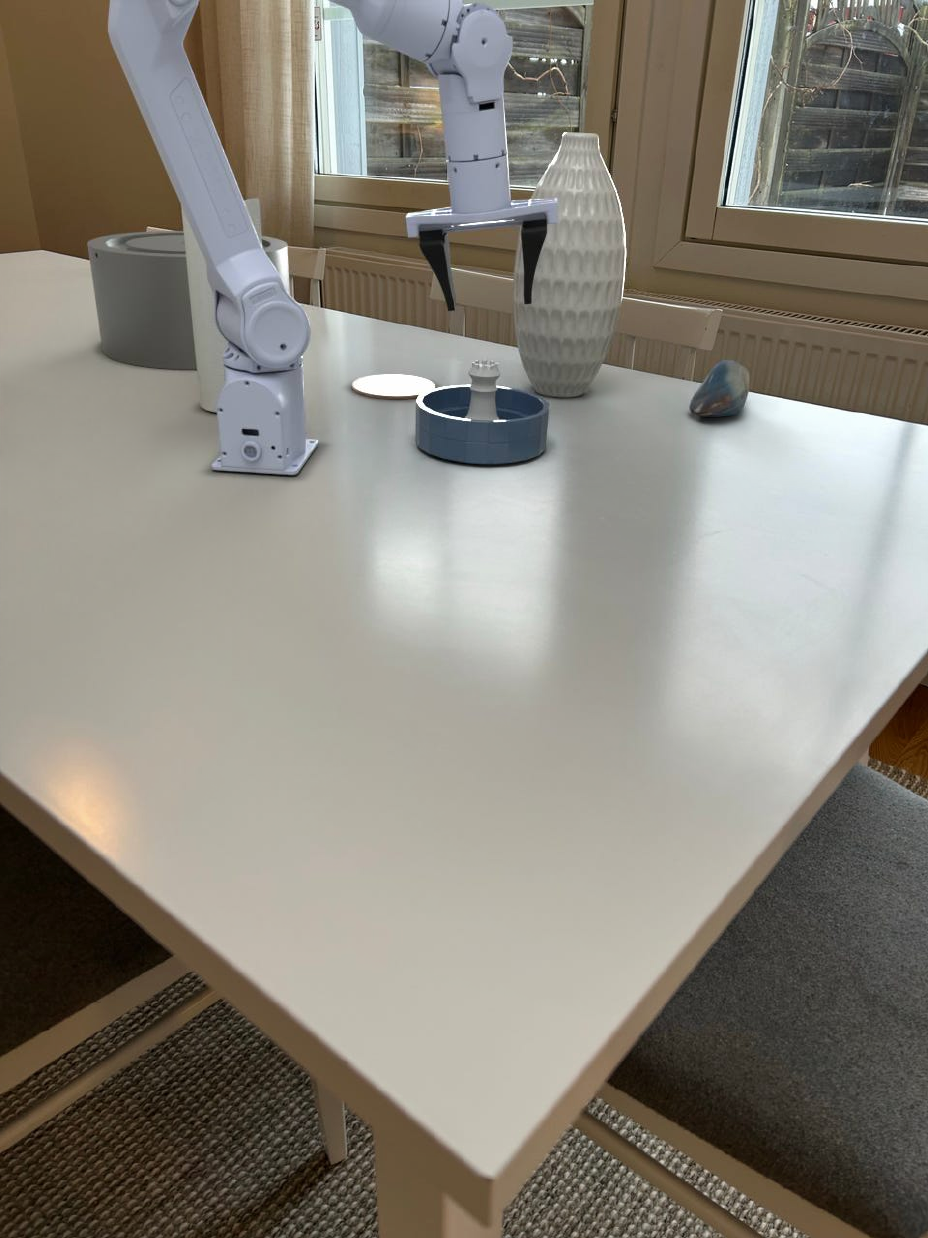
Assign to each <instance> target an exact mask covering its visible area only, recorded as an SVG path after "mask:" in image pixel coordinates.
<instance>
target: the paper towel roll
mask: <svg viewBox="0 0 928 1238" xmlns="http://www.w3.org/2000/svg"><path fill="white" fill-rule="evenodd" d="M244 203H245V206H246V208H247V211H248V213H249V216H250V218H251V221H252V223H253V226H254V228H255V231H256V233H257V236H258V239H259V241H260V244H261V246H262V236H263V235H262V221H261V220H262V219H261V206H260V205H261V204H260V197H259V198H258V197H257V198H248V199H246V200H244ZM180 210H181V218H182V231H184V241H185V251H186V261H187V271H188V282H189V292H190V302H191V312H192V322H193V333H194V343H195V353H196V363H197V369H196V372H197V382H198V393H199V403H200V407H201V408H202V409H203V410H204V411H208V412H212V413H217V400H218V396H219V394H220V392H221V391H222V389H223V387H224V385H225V379H224V367H223V364H224V363H223V354H224V351H225V349H226V346H227V344H228V341H227V340H226V339H225V338H224V337H223V336H222V335H221V334H220V332H219V331H218V329H217V326H216V324H215V320H214V297H213V293H212V290H211V287H210V285H209V283H208V280H207V265H206V261H205V259H204V256H203V254H202V252H201V250H200V247H199V245H198V243H197V240H196V238H195V236H194V233H193V231H192V229H191V226H190V224H189V222H188V220H187V217H186V215H185V213H184V210H183V208H182V206H181V205H180Z"/></svg>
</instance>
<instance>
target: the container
mask: <svg viewBox="0 0 928 1238" xmlns="http://www.w3.org/2000/svg"><path fill="white" fill-rule="evenodd" d="M86 245H87V252H88V259H89V263H90V264H89V266H90V272H91V279H92V286H93V294H94V300H95V309H96V313H97V314H96V316H97V322H98V328H99V329H98V330H99V336H100V343H101V349H102V353H103V355H105V356H106V357H107V358H109V359H111V360H114V361H117V362H119V363H123V364H128V365H131V366H132V365H133V366H136V367H137V366H138V367H144V368H152V369H153V368H154V369H164V370H197V363H196V353H195V343H194V333H193V322H192V312H191V302H190V292H189V282H188V271H187V261H186V251H185V241H184V230H162V231H161V230H159V231H157V230H155V231H137V232H125V233H117V234H116V233H115V234H109V235H104V236H99V237H94V238H91V239H89V240H88V241H87V244H86ZM262 248H263V250H264V252H265V253H266V255H267V256H268V258H269V259H270V261H271V262H272V264H273V265H274V267H275V268H276V270H277V272H278V273H279V275H280V276H281V279H282V281H283V284H284V286H285V288H286V290H287V292H288V293H289V295H290V296H291V290H290V289H291V287H290V273H289V272H290V270H289V247H288V242H286V241H284V240H282V239H280V238H275V237H271V236H267V235H262Z"/></svg>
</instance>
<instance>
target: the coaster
mask: <svg viewBox="0 0 928 1238" xmlns="http://www.w3.org/2000/svg"><path fill="white" fill-rule="evenodd" d="M351 389H352V390H353V392H355V393H357V394H359V395H361V396H365V397H368V398H369V397H370V398H374V399H382V400H409V399H410V400H411V399H417V398H418V396H419V395H421V394H423V393H425V392H426V391H429V390H433V389H436V385H435V383H434V382H432V381H431V380H429V379H427V378H423V377H420V376H415V375H409V374H396V373H395V374H392V373H386V374H385V373H384V374H373V375H366V376H363V377H362V376H361V377H359V378H357V379H355V380H353V381H352V383H351Z"/></svg>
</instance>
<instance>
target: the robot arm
mask: <svg viewBox="0 0 928 1238" xmlns="http://www.w3.org/2000/svg"><path fill="white" fill-rule="evenodd" d="M328 1H329V2H331V3H334V4H336V5H338V6H340V7H343V8H345V9H346V10H347V9H348V10H349V11H350V13H351V16H352V18H353V20H354V22H355V23H354V24H355V26H356V28H357V29H358V31H359V33H360V34H361V35H362V36H364V37H367V38H368V39H371V40H373V41H375V42H378V43H379V44H382V45H384V46H386V47H388V48H390V49H393V50H395V51H397V52H399V53H400V54H402V55H405V56H407V57H409V58H412V59H413V60H416V61H418V62H420V63H422V64H425V65H426V68H427V69H428V71H429V72H430V73H431V74H432V75H433V76H434V77H435V79H436V78H437V82H438V83H437V84H438V94H439V103H440V113H441V114H440V115H441V122H442V132H443V142H444V151H445V162H446V169H447V180H448V190H449V199H450V206H447V207H441V208H435V209H427V210H423V211H414V212H408V213H407V214H406V216H405V224H406V233H407V238H409V239H411V238H418V237H419V243H418V246H419V249H420V251H421V253H422V254H423V256H424V258H425V259H426V262H428V264H429V266H430V267H431V269H432V271H433V273H434V275H435V277H436V279H437V282H438V284H439V287H440V289H441V291H442V294H443V297H444V300H445V303H446V308H447V311H448V312H456V308H457V296H456V289H455V285H454V279H453V278H454V277H453V273H452V272H453V271H452V263H451V252H450V237H449V235H450V234H449V233H457V232H466V231H476V230H486V229H499V228H506V227H508V228H509V227H517V226H521V225H522V229H521V240H522V252H523V265H524V304H532V286H533V279H534V274H535V270H536V266H537V262H538V259H539V256H540V252H541V249H542V247H543V244H544V241H545V238H546V235H547V224H554V223H558V202H557V198H552V199H537V200H530V199H515V200H514V199H511V186H510V185H511V184H510V172H509V158H508V144H507V131H506V130H507V129H506V118H505V117H506V116H505V103H504V92H505V84H504V83H505V82H504V75H505V71H506V68H507V66H508V65H509V62H510V60H511V57H512V53H513V47H514V39H513V36H511V35H508V31H507V27H506V24H505V22H504V20H502V19H501V18H500V17H501V15H500V13H499V12H498V11H497V10H496V9H495V8H493V6H490V5H489V4H486V3H483V2H482V3H481V2H477V3H476V2H475V3H468V4H464V3H463V0H328ZM199 2H200V0H109V6H108V7H109V9H108V18H107V19H108V20H107V33H108V36H109V40H110V44H111V46H112V49H113V51H114V53H115V55H116V58H117V60H118V62H119V65H120V66H121V67H120V68H121V69H122V72H123V74H124V75H125V76H124V77H125V78H126V81H127V83H128V85H129V87H130V90H131V92H132V95H133V98H134V100H135V102H136V104H137V107H138V108H139V111H140V113H141V116H142V118H143V120H144V122H145V125H146V127H147V129H148V132H149V134H150V137H151V138H152V142H153V143H154V146H155V148H156V150H157V153H158V154H159V157H160V160H161V162H162V164H163V166H164V168H165V172H166V173H167V175H168V178H169V180H170V183H171V185H172V188H173V189H174V192H175V194H176V196H177V199H178V201H179V203H180V207H181V206H182V208H183V210H184V213H185V215H186V217H187V220H188V222H189V224H190V226H191V229H192V231H193V233H194V236H195V238H196V240H197V243H198V245H199V247H200V250H201V252H202V254H203V256H204V259H205V261H206V265H207V280H208V283H209V285H210V287H211V290H212V293H213V297H214V320H215V324H216V326H217V329H218V331H219V332H220V334H221V335H222V336H223V337H224V338H225V339H226V340H227V341H228V344H227V346H226V349H225V351H224V354H223V363H224V364H223V367H224V379H225V385H224V387H223V389H222V391H221V392H220V394H219V396H218V400H217V412H216V417H217V418H216V419H217V420H216V421H217V430H218V440H219V441H218V442H219V453H220V455H219V456H218V457H217V458H216V459H215V460H214V461H213V462H212V463H211V466H210V467H211V469H212V470H214V471H222V472H237V473H238V472H239V473H254V474H269V475H271V474H272V475H282V476H283V475H284V476H287V475H288V476H295V475H297V474H298V473H299V472H300V471H301V469H303V466H305V463H306V462H307V461H308V459H309V458H310V456H311V455H312V454H313V452H314V451H315V449H316V448H317V447H318V445H319V440H318V439H317V438H307V424H306V423H307V422H306V402H305V401H306V399H305V397H306V396H305V379H304V378H305V376H304V375H305V374H304V357H303V355H304V354H305V353H306V351H307V349H308V347H309V343H310V341H311V334H312V333H311V329H312V328H311V322H310V318H309V317H308V314H307V312H306V310H305V309H304V307H303V306H302V305H301V304H300V303H299V302H298V301H297V300H295V299H294V298H293V297H292V296H291V294H290V295H289V293H288V292H287V290H286V288H285V286H284V284H283V281H282V279H281V276H280V275H279V273H278V272H277V270H276V268H275V267H274V265H273V264H272V262H271V261H270V259H269V258H268V256H267V255H266V253H265V252H264V250H263V248H262V246H261V244H260V241H259V239H258V236H257V233H256V231H255V228H254V226H253V223H252V221H251V218H250V216H249V213H248V211H247V208H246V206H245V203H244V201H245V200H244V198H243V195H242V193H241V190H240V188H239V186H238V183H237V181H236V178H235V174H234V172H233V170H232V167H231V165H230V162H229V160H228V158H227V155H226V153H225V150H224V148H223V145H222V141H221V140H220V137H219V135H218V132H217V130H216V127H215V124H214V122H213V119H212V117H211V114H210V112H209V109H208V107H207V104H206V102H205V99H204V96H203V95H202V91H201V89H200V87H199V83H198V81H197V79H196V76H195V73H194V71H193V69H192V66H191V64H190V61H189V58H188V56H187V54H186V50H185V48H184V40H185V37H186V35H187V33H188V30H189V27H190V25H191V23H192V21H193V18H194V16H195V14H196V10H197V8H198V6H199Z"/></svg>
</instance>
